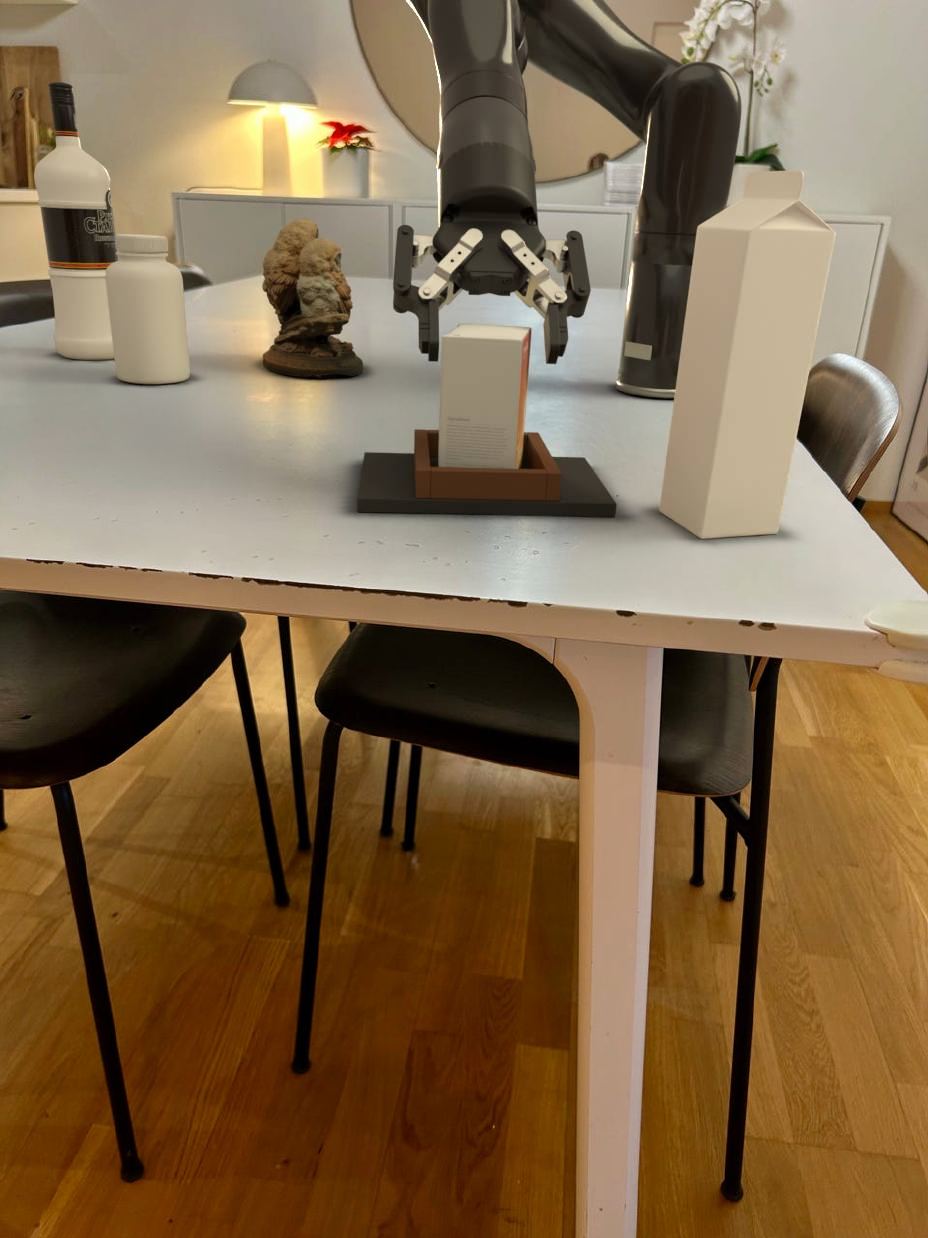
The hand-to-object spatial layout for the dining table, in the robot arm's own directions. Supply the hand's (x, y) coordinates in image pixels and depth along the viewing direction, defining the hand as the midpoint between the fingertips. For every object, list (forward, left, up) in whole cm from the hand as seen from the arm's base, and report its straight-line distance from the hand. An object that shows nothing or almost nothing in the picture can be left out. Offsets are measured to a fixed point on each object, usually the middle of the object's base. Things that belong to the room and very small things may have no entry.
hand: (493, 356), depth 64 cm
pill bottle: (+34, -40, -10) cm, 54 cm away
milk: (-16, +7, -10) cm, 20 cm away
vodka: (+45, -55, -10) cm, 72 cm away
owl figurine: (+17, -50, -10) cm, 54 cm away
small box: (0, 0, -9) cm, 9 cm away
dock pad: (0, 0, -10) cm, 10 cm away
